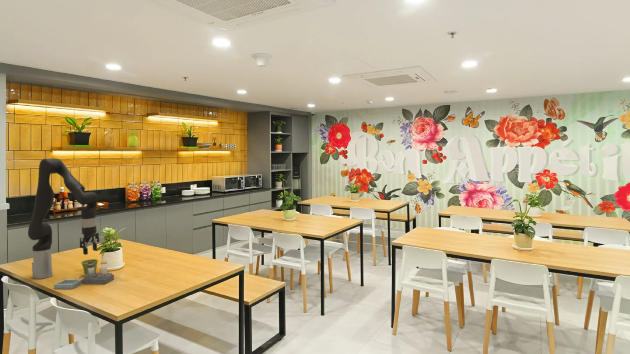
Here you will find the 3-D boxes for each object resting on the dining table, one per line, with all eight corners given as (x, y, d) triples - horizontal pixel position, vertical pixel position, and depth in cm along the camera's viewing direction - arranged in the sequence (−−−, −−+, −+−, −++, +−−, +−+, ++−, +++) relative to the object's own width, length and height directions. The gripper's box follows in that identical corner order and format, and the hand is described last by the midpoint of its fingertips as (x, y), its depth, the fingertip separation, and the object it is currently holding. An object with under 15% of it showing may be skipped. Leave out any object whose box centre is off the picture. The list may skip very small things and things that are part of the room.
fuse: (100, 277, 223) (99, 262, 222) (103, 275, 226) (102, 261, 226) (105, 277, 223) (104, 263, 222) (108, 275, 226) (108, 261, 226)
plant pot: (79, 277, 232) (78, 264, 231) (84, 272, 241) (83, 259, 240) (96, 276, 235) (95, 262, 234) (100, 271, 244) (100, 258, 243)
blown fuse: (87, 277, 224) (86, 262, 223) (90, 275, 227) (89, 261, 226) (92, 277, 223) (91, 262, 223) (95, 275, 227) (95, 261, 226)
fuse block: (81, 284, 221) (81, 276, 221) (91, 278, 230) (91, 271, 230) (104, 284, 220) (104, 277, 220) (113, 279, 229) (113, 271, 229)
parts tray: (53, 289, 213) (53, 284, 213) (64, 283, 222) (64, 279, 222) (71, 289, 213) (71, 284, 213) (81, 283, 221) (81, 279, 221)
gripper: (90, 223, 230) (92, 249, 231) (74, 228, 216) (76, 255, 217) (102, 223, 230) (103, 249, 231) (87, 228, 216) (88, 255, 217)
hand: (90, 252), depth 224 cm, fingers open, 8 cm apart
